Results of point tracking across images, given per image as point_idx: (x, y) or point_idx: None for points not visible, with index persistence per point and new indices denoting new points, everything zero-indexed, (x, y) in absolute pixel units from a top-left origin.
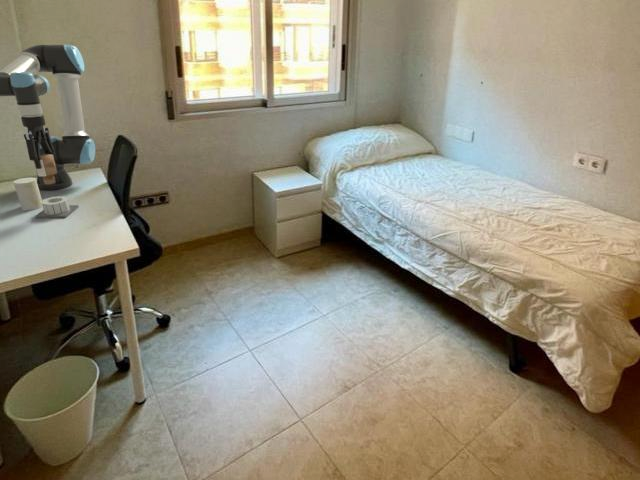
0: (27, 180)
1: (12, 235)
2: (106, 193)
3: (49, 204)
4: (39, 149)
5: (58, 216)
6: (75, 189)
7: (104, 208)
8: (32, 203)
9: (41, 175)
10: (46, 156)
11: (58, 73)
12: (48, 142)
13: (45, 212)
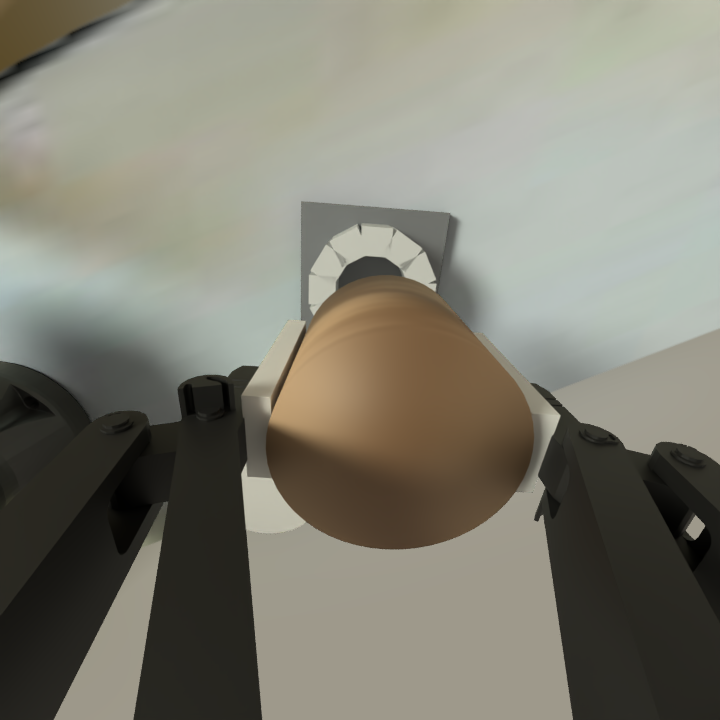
0: (265, 483)
1: (593, 356)
2: (65, 107)
3: None
4: (631, 558)
5: (443, 248)
6: (47, 318)
7: (328, 20)
8: None
9: None
10: (407, 413)
11: None
12: (45, 609)
13: None
